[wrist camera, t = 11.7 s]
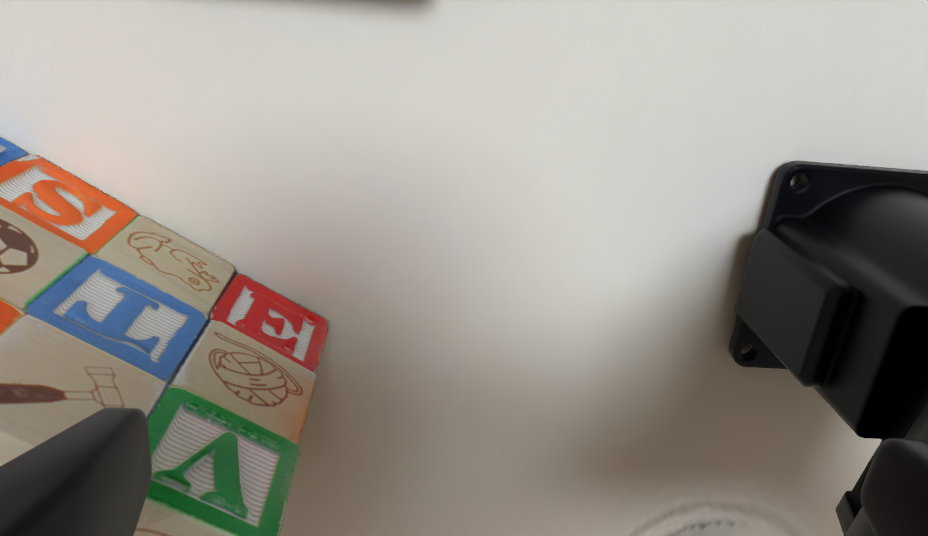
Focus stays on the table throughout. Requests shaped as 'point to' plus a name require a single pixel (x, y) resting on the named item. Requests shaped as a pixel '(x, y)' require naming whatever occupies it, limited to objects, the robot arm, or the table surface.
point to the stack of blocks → (149, 351)
